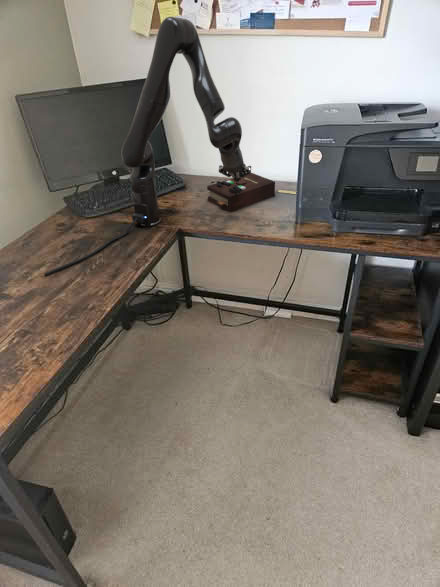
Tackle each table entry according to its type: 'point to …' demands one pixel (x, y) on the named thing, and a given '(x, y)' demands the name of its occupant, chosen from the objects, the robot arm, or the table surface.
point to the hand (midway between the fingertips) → (237, 179)
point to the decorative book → (241, 192)
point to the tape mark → (287, 192)
